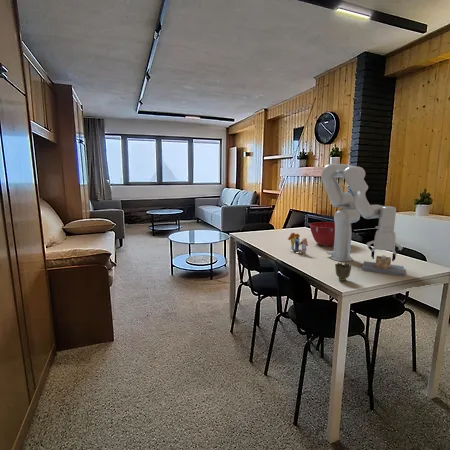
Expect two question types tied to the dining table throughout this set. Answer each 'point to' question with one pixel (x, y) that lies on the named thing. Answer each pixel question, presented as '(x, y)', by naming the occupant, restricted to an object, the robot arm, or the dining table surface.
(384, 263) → the oak bead
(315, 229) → the mixing bowl
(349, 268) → the cup
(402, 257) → the dining table surface
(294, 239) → the doll family
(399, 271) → the needle board
